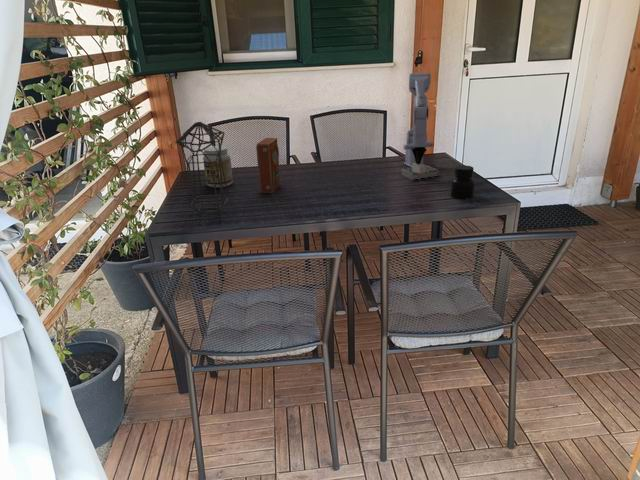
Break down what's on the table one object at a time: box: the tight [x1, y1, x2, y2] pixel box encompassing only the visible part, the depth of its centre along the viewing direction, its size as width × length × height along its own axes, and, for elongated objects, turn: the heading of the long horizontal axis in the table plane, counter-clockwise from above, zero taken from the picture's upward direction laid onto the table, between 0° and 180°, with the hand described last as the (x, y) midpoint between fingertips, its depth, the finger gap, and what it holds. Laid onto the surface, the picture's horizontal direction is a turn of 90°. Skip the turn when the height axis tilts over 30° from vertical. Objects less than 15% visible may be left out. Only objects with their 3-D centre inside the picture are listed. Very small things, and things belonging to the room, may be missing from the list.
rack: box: [400, 164, 439, 181], centre depth 214 cm, size 10×14×3 cm
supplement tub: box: [202, 145, 234, 189], centre depth 209 cm, size 12×12×17 cm
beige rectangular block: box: [411, 163, 426, 173], centre depth 212 cm, size 7×3×5 cm, turn 20°
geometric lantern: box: [174, 121, 229, 218], centre depth 170 cm, size 16×16×35 cm
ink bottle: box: [450, 164, 476, 200], centre depth 183 cm, size 10×9×12 cm
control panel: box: [255, 137, 281, 194], centre depth 199 cm, size 21×7×15 cm
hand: (418, 163), depth 212 cm, fingers closed
